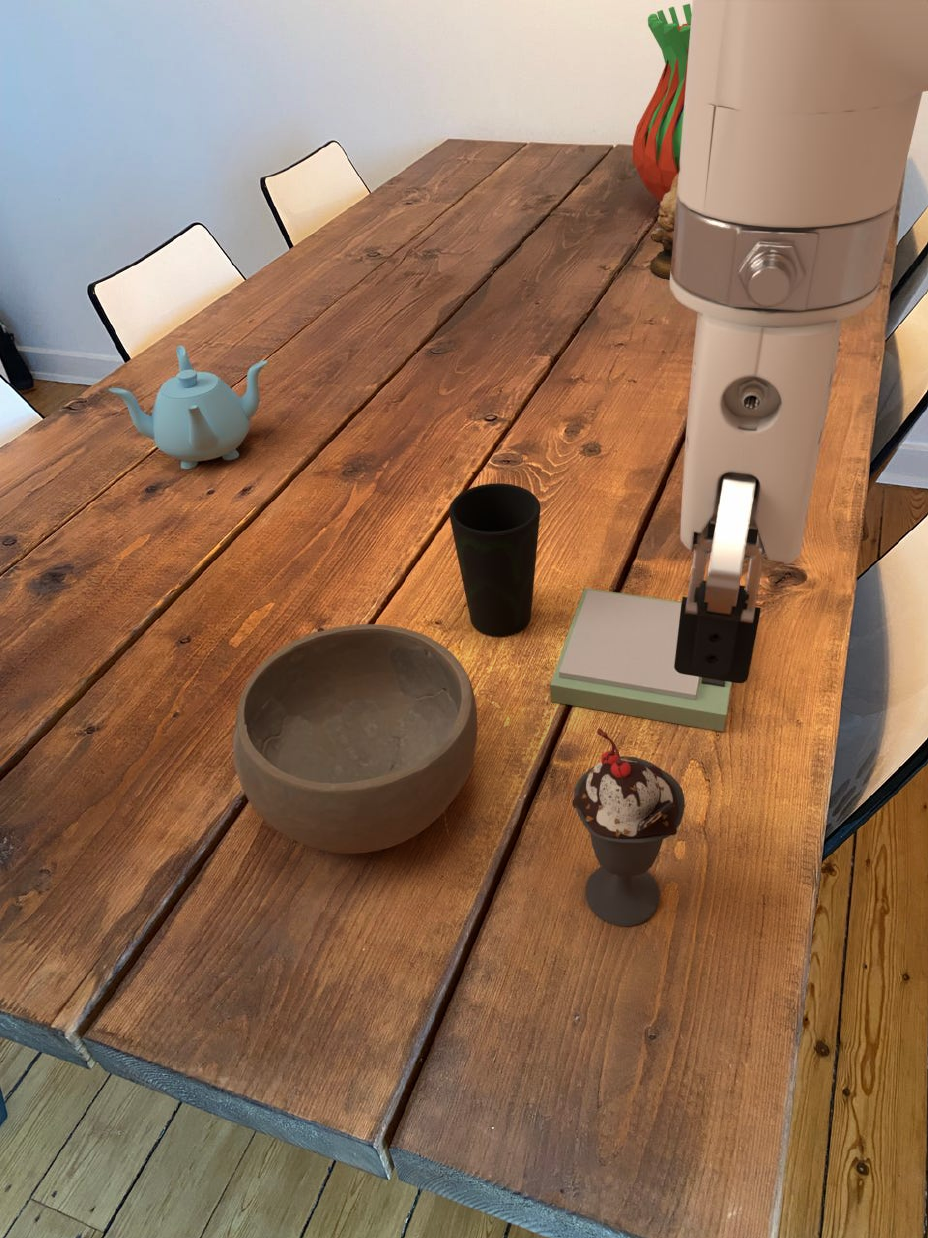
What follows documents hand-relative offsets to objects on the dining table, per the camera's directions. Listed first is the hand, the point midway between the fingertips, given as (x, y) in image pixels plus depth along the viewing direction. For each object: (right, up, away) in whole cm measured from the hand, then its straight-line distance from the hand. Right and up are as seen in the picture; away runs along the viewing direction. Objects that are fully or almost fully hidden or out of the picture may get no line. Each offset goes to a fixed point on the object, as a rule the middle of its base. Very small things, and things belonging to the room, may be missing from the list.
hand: (721, 606), depth 46 cm
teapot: (-43, +20, +69) cm, 83 cm away
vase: (+33, +73, +124) cm, 147 cm away
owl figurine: (+26, +54, +103) cm, 119 cm away
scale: (+3, -4, +35) cm, 35 cm away
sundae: (-2, -19, +18) cm, 27 cm away
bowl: (-20, -14, +27) cm, 36 cm away
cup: (-9, -1, +41) cm, 42 cm away
